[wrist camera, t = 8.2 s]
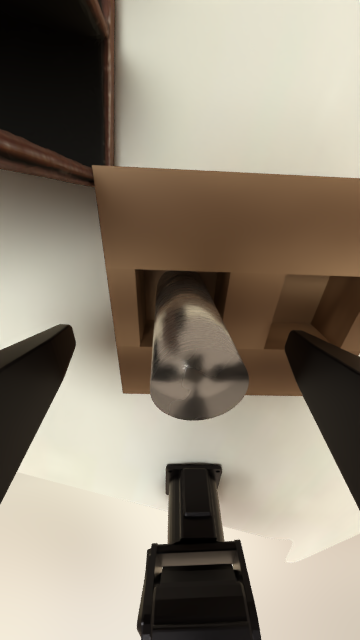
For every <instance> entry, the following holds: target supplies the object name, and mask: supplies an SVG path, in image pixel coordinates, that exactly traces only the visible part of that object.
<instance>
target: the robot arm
mask: <svg viewBox="0 0 360 640" xmlns="http://www.w3.org/2000/svg"><path fill="white" fill-rule="evenodd" d="M75 346H76V341H75V337H74V333H73V329H72V327H71V326H70V325H65V324H60V325H57V326H55V327H52V328H50V329H48V330H46V331H43V332H41V333H39V334H36V335H34V336H32V337H29V338H27V339H25V340H23V341H20V342H18V343H16V344H13V345H11V346H9V347H7V348H4V349H2V350H0V504H1V502H2V500H3V498H4V496H5V494H6V492H7V490H8V488H9V486H10V484H11V482H12V480H13V478H14V476H15V474H16V472H17V470H18V468H19V466H20V464H21V462H22V460H23V458H24V456H25V454H26V452H27V450H28V448H29V446H30V444H31V443H32V441H33V439H34V437H35V435H36V433H37V431H38V429H39V427H40V425H41V423H42V421H43V419H44V417H45V415H46V413H47V411H48V409H49V407H50V405H51V403H52V401H53V399H54V397H55V395H56V393H57V391H58V389H59V387H60V385H61V383H62V381H63V379H64V376H65V374H66V371H67V368H68V366H69V363H70V360H71V358H72V355H73V352H74V349H75ZM284 350H285V353H286V356H287V359H288V362H289V364H290V367H291V370H292V373H293V375H294V378H295V380H296V383H297V385H298V387H299V389H300V391H301V393H302V395H303V397H304V399H305V401H306V403H307V405H308V407H309V409H310V411H311V413H312V415H313V417H314V419H315V421H316V423H317V425H318V427H319V429H320V431H321V433H322V435H323V437H324V439H325V441H326V443H327V446H328V448H329V450H330V452H331V454H332V456H333V458H334V460H335V462H336V464H337V466H338V468H339V470H340V472H341V474H342V476H343V478H344V480H345V482H346V484H347V486H348V488H349V490H350V492H351V494H352V496H353V498H354V500H355V502H356V504H357V506H358V508H359V510H360V357H359V356H357V355H354V354H352V353H350V352H348V351H346V350H344V349H341V348H339V347H337V346H335V345H333V344H331V343H328V342H326V341H324V340H322V339H320V338H318V337H315V336H313V335H311V334H309V333H307V332H305V331H302V330H292V331H290V333H289V335H288V338H287V341H286V344H285V347H284ZM221 474H222V468H221V466H218V465H169V466H167V467H166V494H167V495H169V507H168V544H160V545H158V544H157V543H153V544H152V546H151V549H148V550H147V561H146V572H145V580H144V585H143V591H142V597H141V603H140V608H139V614H138V620H137V630H138V632H139V634H140V636H141V640H261V635H260V628H259V623H258V617H257V612H256V607H255V603H254V598H253V594H252V590H251V586H250V581H249V576H248V572H247V568H246V563H245V559H244V554H243V550H242V546H241V541H240V540H234V541H229V542H224V536H223V528H222V521H221V514H220V507H219V500H218V492H217V488H218V485H219V481H220V477H221ZM232 564H233V566H232ZM162 567H163V568H162Z"/></svg>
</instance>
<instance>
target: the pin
mask: <svg viewBox="0 0 360 640" xmlns="http://www.w3.org/2000/svg"><path fill="white" fill-rule="evenodd" d="M248 385H249V375H248V372H247V369H246V367H245V365H244V363H243V361H242V359H241V357H240V355H239V353H238V351H237V349H236V347H235V345H234V343H233V341H232V339H231V337H230V335H229V333H228V330H227V328H226V326H225V324H224V322H223V320H222V318H221V316H220V314H219V312H218V310H217V308H216V306H215V304H214V302H213V300H212V298H211V296H210V294H209V292H208V290H207V288H206V286H205V284H204V282H203V280H202V278H201V276H200V275H199V274H198V273H197V272H196V271H175V270H168V271H166V272H165V273H164V274H163V275H162V276H161V277H160V279H159V281H158V284H157V290H156V305H155V320H154V335H153V349H152V364H151V379H150V395H151V398H152V400H153V402H154V403H155V405H156V406H157V407H158V408H159V409H160V410H161V411H163V412H164V413H166V414H168V415H170V416H172V417H175V418H178V419H183V420H204V419H209V418H213V417H216V416H219V415H221V414H224V413H225V412H227V411H229V410H230V409H232V408H233V407H235V406H236V405H237V404H238V403H239V402H240V401H241V400H242V398H243V397H244V395H245V394H246V392H247V389H248Z"/></svg>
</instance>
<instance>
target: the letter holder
mask: <svg viewBox="0 0 360 640" xmlns="http://www.w3.org/2000/svg"><path fill="white" fill-rule="evenodd" d="M114 13H115V0H0V169H4V170H9V171H14V172H20V173H24V174H30V175H36V176H40V177H47V178H51V179H56V180H61V181H65V182H70V183H74V184H79V185H85V186H91V187H95V184H94V177H93V170H92V165H99V166H113V164H114V129H113V127H114V27H115V16H114Z"/></svg>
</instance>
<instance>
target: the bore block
mask: <svg viewBox="0 0 360 640" xmlns="http://www.w3.org/2000/svg"><path fill="white" fill-rule="evenodd" d="M92 170H93V177H94V184H95V192H96V199H97V206H98V214H99V221H100V228H101V236H102V243H103V250H104V258H105V265H106V272H107V280H108V287H109V294H110V302H111V309H112V316H113V324H114V331H115V338H116V346H117V353H118V360H119V368H120V375H121V382H122V390H123V393H128V394H150V379H151V364H152V349H153V335H154V320H155V305H156V290H157V284H158V281H159V279H160V277H161V276H162V275H163V274H164V273H165V272H166V271H168V270H175V271H196V272H197V273H198V274H199V275H200V276H201V278H202V280H203V282H204V284H205V286H206V288H207V290H208V292H209V294H210V296H211V298H212V300H213V302H214V304H215V306H216V308H217V310H218V312H219V314H220V316H221V318H222V320H223V322H224V324H225V326H226V328H227V330H228V333H229V335H230V337H231V339H232V341H233V343H234V345H235V347H236V349H237V351H238V353H239V355H240V357H241V359H242V361H243V363H244V365H245V367H246V369H247V372H248V375H249V385H248V389H247V392H246V394H245V395H273V396H303V395H302V393H301V391H300V389H299V387H298V385H297V383H296V380H295V378H294V375H293V373H292V370H291V367H290V364H289V362H288V359H287V356H286V353H285V350H284V347H285V344H286V341H287V338H288V335H289V333H290V331H292V330H302V331H305V332H307V333H309V334H311V335H313V336H315V337H318V338H320V339H322V340H324V341H326V342H328V343H331V344H333V345H335V346H337V347H339V348H341V349H344V350H346V351H348V352H350V353H352V354H354V355H357V356H358V355H359V354H360V178H340V177H320V176H300V175H280V174H260V173H240V172H220V171H200V170H180V169H160V168H139V167H119V166H99V165H92Z"/></svg>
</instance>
